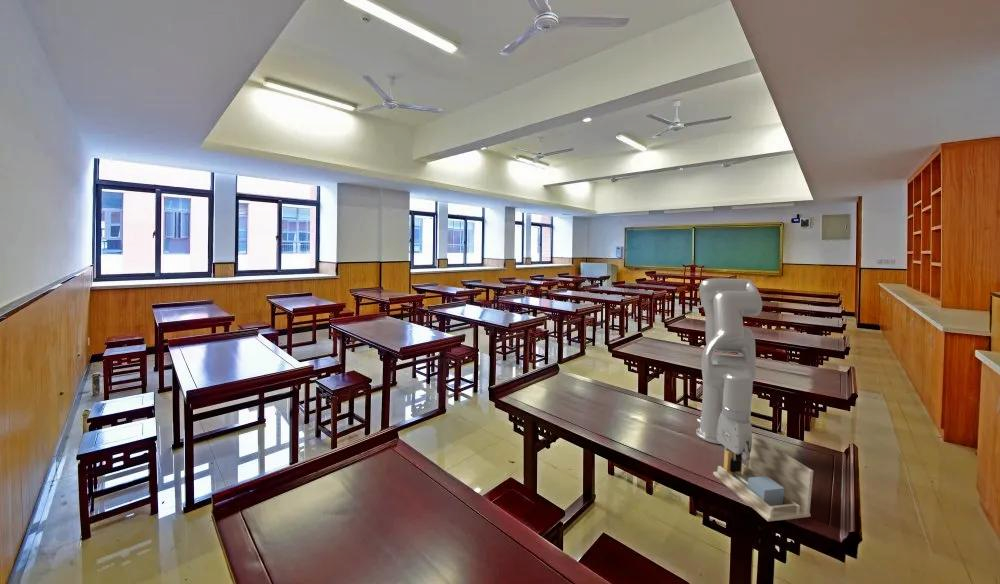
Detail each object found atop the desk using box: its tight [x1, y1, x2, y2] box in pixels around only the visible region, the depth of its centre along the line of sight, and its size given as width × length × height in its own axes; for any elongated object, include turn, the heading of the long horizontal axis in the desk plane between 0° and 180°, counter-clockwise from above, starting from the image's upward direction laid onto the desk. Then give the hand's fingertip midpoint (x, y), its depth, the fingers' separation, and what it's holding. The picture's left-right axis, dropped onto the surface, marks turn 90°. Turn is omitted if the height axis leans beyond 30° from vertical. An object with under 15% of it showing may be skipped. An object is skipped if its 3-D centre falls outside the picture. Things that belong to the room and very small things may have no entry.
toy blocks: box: [723, 450, 784, 506], centre depth 119 cm, size 17×6×8 cm, turn 8°
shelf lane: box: [712, 433, 814, 522], centre depth 118 cm, size 22×13×13 cm, turn 8°
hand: (732, 468), depth 127 cm, fingers closed on toy blocks
